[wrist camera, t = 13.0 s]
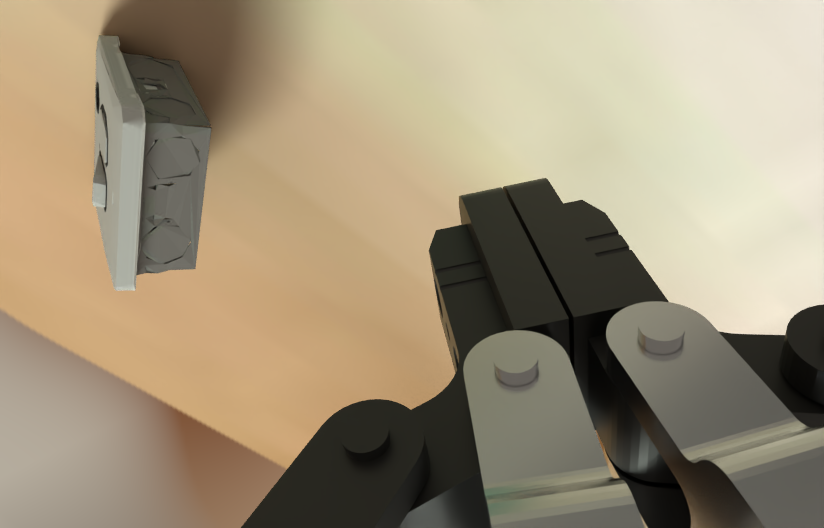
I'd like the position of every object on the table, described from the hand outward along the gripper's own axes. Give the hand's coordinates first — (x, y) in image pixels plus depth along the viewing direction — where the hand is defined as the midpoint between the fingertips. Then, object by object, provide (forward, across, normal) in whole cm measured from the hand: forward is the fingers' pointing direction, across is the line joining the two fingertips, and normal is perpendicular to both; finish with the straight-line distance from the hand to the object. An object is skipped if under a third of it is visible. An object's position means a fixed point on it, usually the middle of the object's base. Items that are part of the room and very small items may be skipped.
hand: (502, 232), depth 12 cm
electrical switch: (+26, +13, +7) cm, 30 cm away
